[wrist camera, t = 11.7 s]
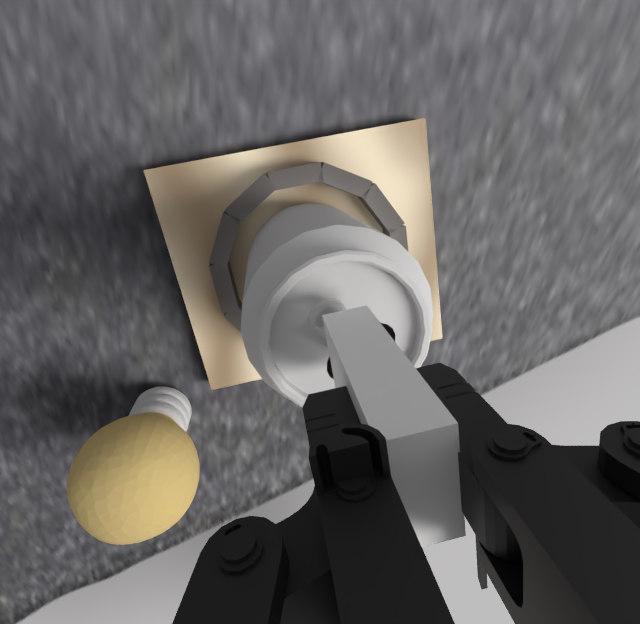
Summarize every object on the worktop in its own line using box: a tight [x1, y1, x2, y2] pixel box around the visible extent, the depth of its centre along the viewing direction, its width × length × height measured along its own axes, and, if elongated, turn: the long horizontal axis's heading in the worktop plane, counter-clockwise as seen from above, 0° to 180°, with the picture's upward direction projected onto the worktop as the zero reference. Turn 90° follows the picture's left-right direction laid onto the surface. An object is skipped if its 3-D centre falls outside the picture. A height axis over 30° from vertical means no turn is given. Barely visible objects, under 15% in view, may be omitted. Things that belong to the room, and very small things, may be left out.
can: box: [241, 203, 433, 407], centre depth 20 cm, size 8×8×12 cm
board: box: [144, 118, 442, 390], centre depth 25 cm, size 16×14×3 cm
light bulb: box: [67, 386, 199, 545], centre depth 24 cm, size 6×6×10 cm
